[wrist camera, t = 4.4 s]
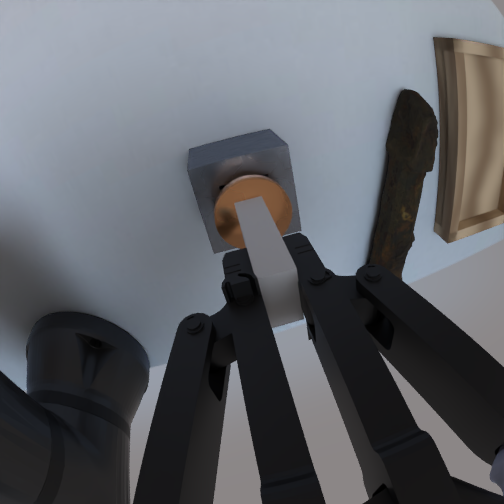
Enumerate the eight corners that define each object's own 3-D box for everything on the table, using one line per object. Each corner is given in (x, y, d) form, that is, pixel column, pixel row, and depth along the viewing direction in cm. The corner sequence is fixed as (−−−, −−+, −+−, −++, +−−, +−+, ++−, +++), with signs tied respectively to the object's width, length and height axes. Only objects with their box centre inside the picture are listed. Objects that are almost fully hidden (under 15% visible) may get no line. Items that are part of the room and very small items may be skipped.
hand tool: (387, 272, 32) (408, 299, 28) (355, 276, 31) (375, 305, 28) (424, 94, 22) (459, 104, 18) (388, 86, 21) (422, 93, 17)
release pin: (217, 209, 24) (225, 258, 19) (202, 156, 22) (205, 191, 16) (272, 194, 24) (296, 238, 19) (261, 141, 22) (285, 170, 16)
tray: (433, 230, 30) (447, 243, 28) (433, 37, 18) (452, 38, 16) (495, 210, 30) (508, 220, 28) (502, 48, 19) (520, 52, 16)
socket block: (210, 219, 25) (214, 253, 21) (189, 149, 22) (187, 170, 18) (283, 200, 25) (301, 230, 21) (269, 128, 22) (287, 144, 18)
